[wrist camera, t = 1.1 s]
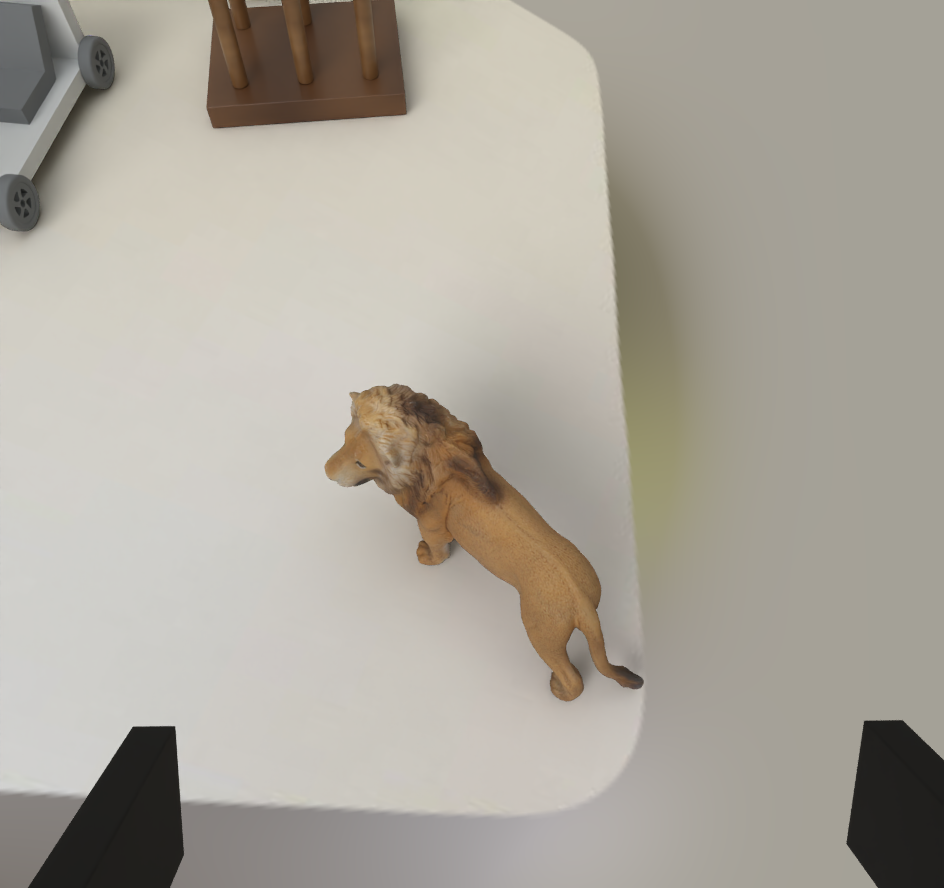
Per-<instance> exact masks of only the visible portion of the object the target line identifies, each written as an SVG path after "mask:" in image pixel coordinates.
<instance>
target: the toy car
mask: <svg viewBox="0 0 944 888" xmlns="http://www.w3.org/2000/svg"><path fill="white" fill-rule="evenodd" d="M114 73H115V66H114V59H113V54H112V51H111V49H110V47H109V45H108V43H107V42H106V41H105V40H104V39H103V38H101V37H98V36H85V37H84V34H83V32H82V30H81V28H80V25H79V23H78V21H77V19H76V16H75V14H74V12H73V10H72V7H71V5H70V3H69V1H68V0H0V223H1V224H2V225H3V226H4V227H5V228H7V229H9V230H14V231H28V230H30V229H32V228H33V227H34V226H35V224H36V222H37V220H38V217H39V212H40V202H39V196H38V193H37V190H36V188H35V186H34V184H33V183H32V182H31V180H32V178H33V176H34V175H35V173H36V171H37V169H38V168H39V166H40V164H41V162H42V161H43V159H44V157H45V155H46V154H47V152H48V150H49V148H50V146H51V145H52V143H53V141H54V139H55V138H56V136H57V134H58V132H59V131H60V129H61V127H62V125H63V124H64V122H65V120H66V118H67V117H68V115H69V113H70V111H71V109H72V108H73V106H74V104H75V102H76V101H77V99H78V97H79V95H80V94H81V92H82V90H83V88H84V87H85V85H86V84H87V85H88V86H90V87H91V88H95V89H107V88H109V87H110V86H111V84H112V82H113V79H114Z"/></svg>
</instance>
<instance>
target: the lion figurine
mask: <svg viewBox="0 0 944 888" xmlns="http://www.w3.org/2000/svg"><path fill="white" fill-rule="evenodd" d="M349 395H350V396H351V398H352V406H351V416H352V422H351V424H350V426H349V427H348V428H347V429H346V431H345V444H344V445H343V447H342V448H341V449H340V450H339V451H337V452H336V453H335V454H334V455H333V456H332V457H331V458H330V459H329V460H328V461H327V462H326V464H325V472H326V475H327V476H328V478H329V479H331V480H333V481H336V482H337V483H338V484H339V485H341V486H344V487H352V486H358V485H361V484H364V483H366V482H368V481H370V480H373V479H374V481H375V482H376V484H377V485H378V487H379V488H381V489H383V490H384V491H385V492H386V493H388V494H392V495H394V497H395V500H396V501H397V503H398V504H399V505H400V506H401V507H403V508H404V509H405V510H406V511H407V512H409V513H410V514H411V515H413V516H414V517H415V518H416V519H417V521H418V526H419V529H420V532H421V535H422V538H423V539H424V541H420V542H419V547H418V549H417V552H416V553H417V556H418V560H419V562H420V563H421V564H425V565H437V564H440V563H442V562H443V561H444V560H445V559H446V558H449V557H450V544H449V542H452V541H453V539H454V538H455V540H456V541H457V542H458V543H459V544H460V545H461V547H463V548H464V549H465V550H466V551H467V552H468V553H469V554H471V555H472V556H473V557H474V558H476V559H477V560H478V561H479V563H481V564H482V565H483V566H484V567H485V568H486V569H488V570H489V571H490V572H491V573H493V574H494V575H495V576H497V577H498V578H500V579H502V580H504V581H506V582H507V583H509V584H511V585H513V586H514V587H515V588H516V589H517V590H518V592H519V594H520V605H521V618H522V621H523V624H524V626H525V629H526V632H527V634H528V637H529V639H530V641H531V643H532V645H533V647H534V648H535V650H536V651H537V653H538V654H539V656H540V657H541V658H542V659H543V660H544V662H545V663H546V664H547V665H548V666H549V667H550V668H551V669H552V671H553V673H552V677H551V680H550V686H551V691H552V693H553V694H554V695H555V696H556V697H557V698H559V699H561V700H564V701H571V700H574V699H575V698H577V697H578V696H579V695H580V694H581V693H582V692H583V690H584V685H583V680H582V677H581V675H580V673H579V671H578V669H577V668H576V667H575V666H574V665H573V664H572V663H570V661H569V658H568V655H567V652H566V644H567V642H568V640H569V638H570V636H571V634H572V632H573V630H574V628H575V627H577V628H578V629H579V630H580V631H582V632H583V634H584V635H585V636H586V639H587V641H588V645H589V651H590V654H591V657H592V659H593V662H594V664H595V666H596V668H597V670H598V671H599V672H600V673H602V674H603V675H605V676H606V677H608V678H612V679H614V680H616V681H617V682H618V683H619V684H620V685H621V686H622V687H629V688H632V689H639V688H641V687H642V685H643V683H644V681H643V679H642V678H641V677H640V676H638V675H636V674H634V673H633V672H631V671H630V670H628V669H627V668H626V667H624V666H615V665H612V664H610V663H609V662H608V660H607V656H606V651H605V647H604V639H603V634H602V631H601V626H600V621H599V618H598V614H597V612H596V609H597V607H598V604H599V601H600V596H601V585H600V582H599V579H598V577H597V575H596V572H595V570H594V569H593V567H592V566H591V564H590V562H589V561H588V560H587V558H586V557H585V556H584V555H583V554H582V553H581V552H580V551H579V550H578V549H577V547H576V546H575V545H574V544H573V543H571V542H570V541H569V540H567V539H566V538H564V537H562V536H561V535H560V534H558V533H557V532H556V531H555V530H554V529H552V528H551V527H550V526H549V525H548V524H547V523H546V522H545V520H544V519H543V518H542V517H541V516H540V515H539V513H538V512H537V511H536V510H535V509H534V508H533V507H532V506H531V505H530V503H529V502H528V501H527V500H526V499H525V498H524V497H523V496H522V495H521V494H520V493H519V492H518V491H517V490H516V489H515V488H513V487H512V486H511V485H510V484H509V483H508V482H507V481H506V480H505V479H504V478H503V477H502V476H501V475H499V474H498V473H497V472H496V471H494V470H493V468H492V467H491V465H490V463H489V460H488V459H487V457H486V456H485V455H484V453H483V451H482V445H481V442H480V441H479V439H478V437H477V435H476V433H475V431H473V430H470V429H469V425H468V424H467V423H465V422H462V421H459V420H457V418H456V417H455V416H453V415H451V414H450V412H449V410H447V409H446V408H444V407H443V406H442V405H439V403H438V402H437V401H436V400H434V399H428V396H426V395H425V394H423V393H415V392H414V391H412V390H411V388H409V387H408V386H404V385H399V384H393V385H392V386H390V387H386V386H376V387H372V388H371V389H369V390H365V391H363V392H362V393H357V392H350V393H349Z"/></svg>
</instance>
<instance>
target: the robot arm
mask: <svg viewBox="0 0 944 888" xmlns="http://www.w3.org/2000/svg"><path fill="white" fill-rule="evenodd" d="M847 845H848V847H849V848H850V849H851V851H852V852H853V853H854V855H855V856H856V858H857V859H858V860H859V862H860V863H861V865H862V866H863V867H864V869H865V870H866V872H867V873H868V874H869V876H870V877H871V879H872V880H873V881H874V883H875V884H876V886H877V887H878V888H944V760H943V759H942V758H941V757H940V756H939V755H938V754H937V753H936V752H935V751H934V750H933V749H932V748H931V747H930V746H929V745H927V744H926V743H925V742H924V741H923V740H922V739H921V738H920V737H919V736H918V735H917V734H916V733H915V732H914V731H913V730H912V729H911V728H910V727H909V726H908V725H907V724H906V723H905V722H904V721H902V720H892V721H890V720H889V721H864V725H863V733H862V740H861V747H860V753H859V760H858V767H857V774H856V781H855V788H854V795H853V802H852V809H851V816H850V823H849V829H848V836H847ZM183 849H184V848H183V834H182V819H181V804H180V789H179V775H178V760H177V745H176V730H175V726H149V727H132V729H131V731H130V732H129V734H128V735H127V737H126V738H125V740H124V741H123V743H122V744H121V746H120V747H119V749H118V750H117V752H116V754H115V755H114V757H113V758H112V760H111V761H110V763H109V764H108V766H107V767H106V769H105V770H104V772H103V773H102V775H101V777H100V778H99V780H98V781H97V783H96V784H95V786H94V787H93V789H92V790H91V792H90V793H89V795H88V796H87V798H86V800H85V801H84V803H83V804H82V806H81V807H80V809H79V810H78V812H77V813H76V815H75V816H74V818H73V820H72V821H71V823H70V824H69V826H68V827H67V829H66V830H65V832H64V833H63V835H62V836H61V838H60V839H59V841H58V843H57V844H56V846H55V847H54V849H53V850H52V852H51V853H50V855H49V856H48V858H47V859H46V861H45V863H44V864H43V866H42V867H41V869H40V870H39V872H38V873H37V875H36V876H35V878H34V879H33V881H32V882H31V884H30V885H29V887H28V888H170V886H171V884H172V881H173V879H174V877H175V874H176V872H177V870H178V867H179V865H180V863H181V860H182V858H183V856H184V850H183Z"/></svg>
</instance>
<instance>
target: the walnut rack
mask: <svg viewBox="0 0 944 888" xmlns="http://www.w3.org/2000/svg"><path fill="white" fill-rule="evenodd" d="M281 1H282V6H269V7H253V8H247V6H246V2H245V0H229V4H230V8H231V9H229V7H228V3H227V0H208V2H209V5H210V9H211V12H212V16H213V29H212V42H211V56H210V69H209V82H208V95H207V111H208V114H209V117H210V120H211V123H212V126H213V128H221V127H235V126H249V125H263V124H277V123H291V122H305V121H319V120H333V119H347V118H361V117H375V116H389V115H403V114H406V101H405V90H404V81H403V73H402V64H401V55H400V47H399V38H398V29H397V21H396V12H395V3H394V0H353V1H350V2H334V3H317V4H309V0H281Z"/></svg>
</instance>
